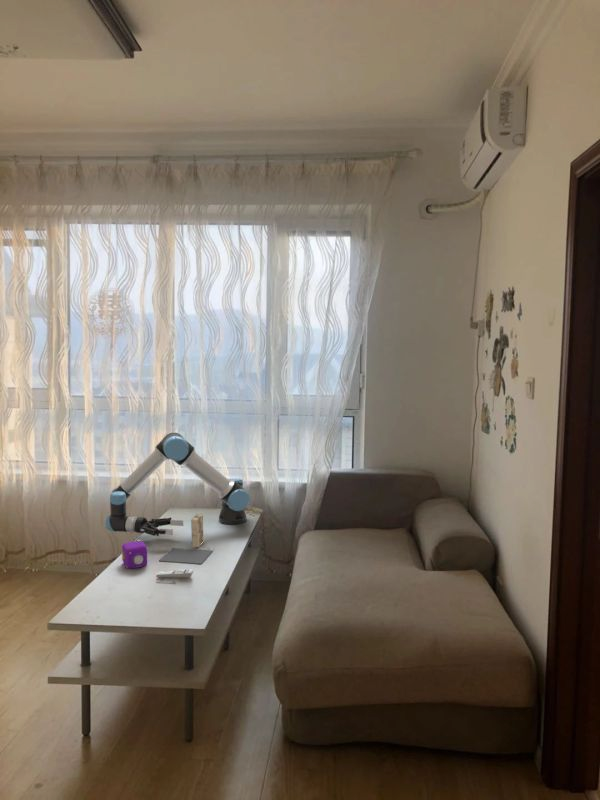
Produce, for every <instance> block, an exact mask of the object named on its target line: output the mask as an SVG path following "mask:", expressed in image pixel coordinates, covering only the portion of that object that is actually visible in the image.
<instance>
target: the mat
mask: <svg viewBox="0 0 600 800" xmlns="http://www.w3.org/2000/svg"><path fill="white" fill-rule="evenodd" d="M213 552H214V550H213V549H200V548H180V547H172V548H171V549H170V550H168V552H166V553H165V554H164V555H163V556H162V557H161V558H160V559H159V560H158V562H160V563H175V564H188V565H189V564H190V565H203V563H204V562H205V561H206V560H207V559H208V558H207V557H210V555H211V554H212V553H213Z"/></svg>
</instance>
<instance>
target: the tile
mask: <svg viewBox="0 0 600 800" xmlns="http://www.w3.org/2000/svg"><path fill="white" fill-rule="evenodd" d="M190 521H191V523H190V524H191V525H190V526H191V528H190V529H191V548H192V547H198V548H200V546H201V545H202V544H203V543H204V542H203V541H204V514H202V513H201V514H199V513H197V514H195V515H194V516H193V517H191V519H190ZM202 542H203V543H202ZM201 543H202V544H201ZM200 544H201V545H200Z"/></svg>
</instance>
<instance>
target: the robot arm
mask: <svg viewBox="0 0 600 800" xmlns="http://www.w3.org/2000/svg"><path fill="white" fill-rule="evenodd" d="M167 460H168V461H169V460H171V461H173V462H174V463H176V464H177V465H178V466H184V467H186V468H187V469H188V470H189V471H190V472H192V473H193V474H194V475H195V476H196V477H198V478H199V479H201V481H202V482H204V483H205V484H206V485H208V486H209V487H210V488H211V489H213V490H214V491H215V492H216V493H217V494H218V498H219V499H220V500H221V508H220V512H219V515H218V522H219V521H220V522H221V524H223V523H224V524H223V525H239V524H242V523H245V522H246V521H247V513H246V511H245V509H246V508H247V507H248V506H249V503H250V502H251V501H250V500H251V498H250V494H249V492H248V491H247V490H246V489H245V487H244V486H243V485H244V482H243V481H244V480H243V479H241V478H227V477H225V476H224V475H223V474H222V473H221V472H220V471H219V470H217V469H216V468H215V467H214V466H212V465H211V464H210V463H209V462H207V460H205V459H204V458H203V457H202V456H200V455H199V454H198V453H197V452H196V448H195V446H194V445H192V444H191V443H189V442H188V440H186V439H185V438H184V436H183V435H181V434H180V433H178V432H170V433H168V434H166V435H165V436H163V438H162V439H161V440H160V441H159V443H157V444H156V445H155V449H154V450H153V452H151V454H149V455H148V456H147V458H145V460H144V461H142V462H141V464H139V466H137V468H135V470H134V471H132V472H131V473H130V474H129V475H128V477H127V478H125V480H123V481H122V483H120V485H119V486H118V487H117V488H114V489H112V491H111V493H110V495H109V504H110V505H109V508H110V515H108V516H107V517H106V519H105V523H104V525H105V528H106V530H107V531H109V532H110V531H111V532H120V533H121V532H122V533H130V534H134V533H137V534H146V535H147V534H148V535H151V536H153V537H155V536H156V537H159V536H160V535H165V536H170V535H171V536H173V534H174V529H173V528H163V527H162V526H177V527H184V520H183V519H173V518H172V517H164V518H151V520H148V519H147V518H146V517H143V516H141V517H140V516H139V517H138V516H128V515H127V499H128V498H130V496H132V494H134V492H135V491H136V490H137V489H138V488H139V487H140V486H141V485H142V484H144V483H145V481H146V480H148V478H149V477H151V475H152V474H153V473H155V471H156V470H157V469H158V468H159V467H161V465H162V464H163V463H164V462H165V461H167ZM220 522H219V523H220ZM159 527H160V528H159Z"/></svg>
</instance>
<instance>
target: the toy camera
mask: <svg viewBox="0 0 600 800" xmlns="http://www.w3.org/2000/svg"><path fill="white" fill-rule="evenodd" d="M121 558H122V559H121V560H122V563H123V564H124V566H125V568H127V569H135V568H141V567H144V566H145V567H146V566H147V565H148V547H147V545H146V544H145V542H144V541H142V540H141V539H137V540H134V541H130V542H129V541H128V542H124V543H122V545H121Z"/></svg>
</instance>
